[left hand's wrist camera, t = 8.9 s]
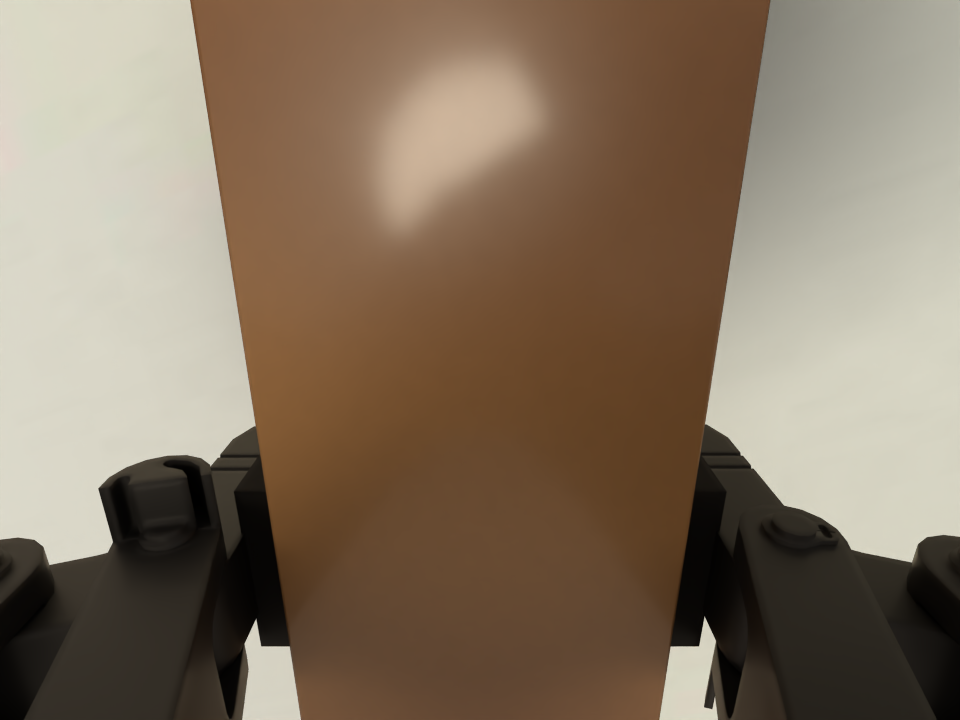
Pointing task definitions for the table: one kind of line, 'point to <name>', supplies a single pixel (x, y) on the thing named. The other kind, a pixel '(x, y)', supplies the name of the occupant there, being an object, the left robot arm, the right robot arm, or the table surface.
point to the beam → (480, 331)
